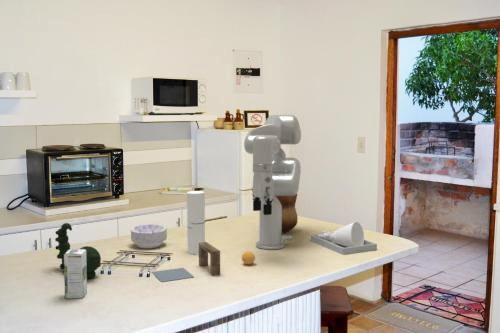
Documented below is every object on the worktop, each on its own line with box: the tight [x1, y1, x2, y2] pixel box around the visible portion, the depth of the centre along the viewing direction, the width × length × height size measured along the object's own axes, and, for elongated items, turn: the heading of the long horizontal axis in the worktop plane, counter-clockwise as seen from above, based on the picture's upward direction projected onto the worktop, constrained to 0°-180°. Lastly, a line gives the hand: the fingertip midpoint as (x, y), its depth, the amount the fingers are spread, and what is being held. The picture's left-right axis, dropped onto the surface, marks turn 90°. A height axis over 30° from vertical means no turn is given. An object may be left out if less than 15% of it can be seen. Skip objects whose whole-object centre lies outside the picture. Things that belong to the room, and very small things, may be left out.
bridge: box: [198, 241, 221, 277], centre depth 197 cm, size 3×14×9 cm, turn 26°
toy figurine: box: [54, 222, 102, 280], centre depth 191 cm, size 9×19×25 cm
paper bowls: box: [130, 223, 168, 250], centre depth 231 cm, size 15×15×8 cm
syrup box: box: [63, 248, 88, 300], centre depth 170 cm, size 6×6×14 cm
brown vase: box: [276, 193, 298, 233], centre depth 256 cm, size 14×13×25 cm
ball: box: [241, 250, 256, 266], centre depth 204 cm, size 5×5×5 cm
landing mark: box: [151, 267, 195, 283], centre depth 192 cm, size 12×12×1 cm
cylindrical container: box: [186, 190, 206, 255], centre depth 221 cm, size 7×7×25 cm
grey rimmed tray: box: [309, 232, 378, 256], centre depth 233 cm, size 17×25×2 cm
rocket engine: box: [318, 221, 365, 248], centre depth 232 cm, size 12×12×18 cm
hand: (262, 212), depth 207 cm, fingers open, 9 cm apart
